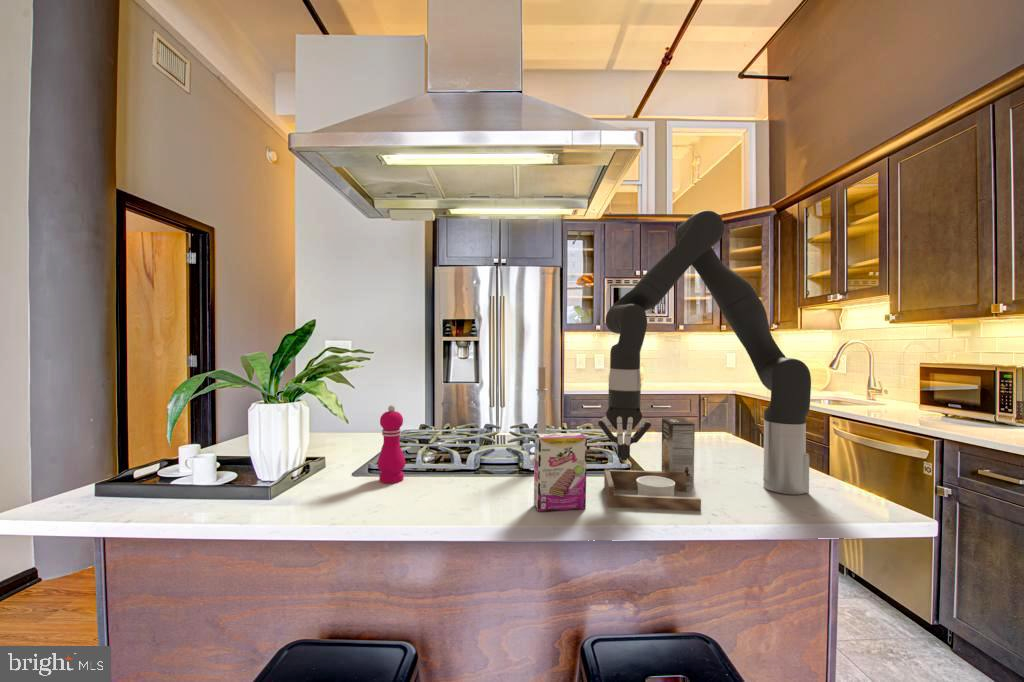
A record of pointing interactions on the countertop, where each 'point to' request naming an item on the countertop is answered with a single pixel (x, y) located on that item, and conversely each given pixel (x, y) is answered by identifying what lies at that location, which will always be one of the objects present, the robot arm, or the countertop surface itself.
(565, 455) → the candy bar box
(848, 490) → the countertop surface
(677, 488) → the open wooden box
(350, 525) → the countertop surface
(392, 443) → the pepper mill
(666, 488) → the ramekin
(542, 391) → the candlestick
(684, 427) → the coffee box
